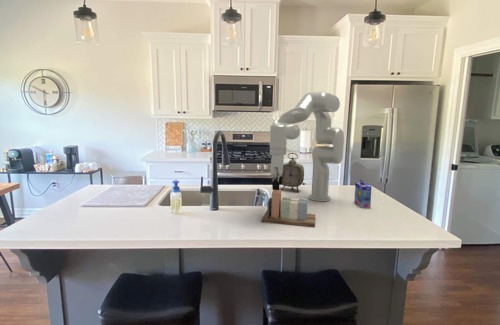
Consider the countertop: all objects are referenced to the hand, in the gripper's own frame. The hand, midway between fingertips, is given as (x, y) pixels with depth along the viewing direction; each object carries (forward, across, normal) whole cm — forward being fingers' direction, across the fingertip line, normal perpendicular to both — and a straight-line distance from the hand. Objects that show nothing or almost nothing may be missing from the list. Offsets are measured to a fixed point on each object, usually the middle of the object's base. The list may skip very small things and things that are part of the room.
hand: (277, 187), depth 139 cm
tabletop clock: (+17, -55, +2) cm, 58 cm away
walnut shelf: (+15, +1, +6) cm, 17 cm away
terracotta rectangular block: (+14, 0, 0) cm, 14 cm away
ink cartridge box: (+17, -33, +43) cm, 57 cm away
